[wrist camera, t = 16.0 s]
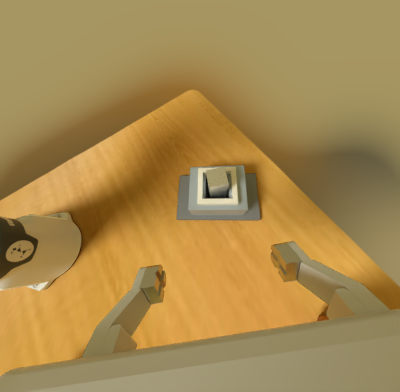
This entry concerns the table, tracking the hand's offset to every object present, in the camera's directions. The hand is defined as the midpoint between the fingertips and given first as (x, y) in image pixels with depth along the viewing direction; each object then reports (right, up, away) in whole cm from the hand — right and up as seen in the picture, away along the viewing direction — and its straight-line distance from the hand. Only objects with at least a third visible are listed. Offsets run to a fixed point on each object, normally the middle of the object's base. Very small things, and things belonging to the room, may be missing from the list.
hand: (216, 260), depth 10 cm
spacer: (+2, +7, +20) cm, 21 cm away
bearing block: (+3, +4, +26) cm, 27 cm away
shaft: (+3, +5, +25) cm, 26 cm away
